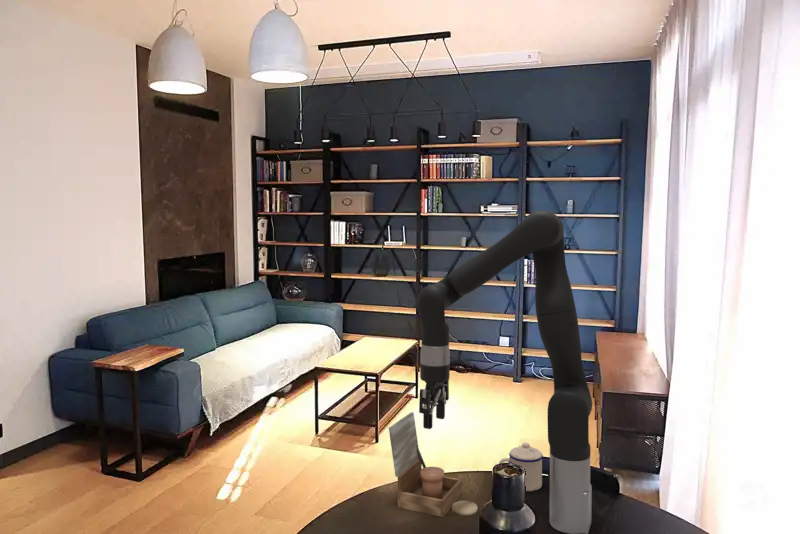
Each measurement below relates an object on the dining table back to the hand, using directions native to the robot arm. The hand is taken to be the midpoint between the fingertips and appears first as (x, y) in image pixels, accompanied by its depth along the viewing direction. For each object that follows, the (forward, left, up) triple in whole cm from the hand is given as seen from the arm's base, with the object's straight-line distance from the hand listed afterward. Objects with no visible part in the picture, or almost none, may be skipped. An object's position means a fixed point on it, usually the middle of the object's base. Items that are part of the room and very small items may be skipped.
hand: (434, 423), depth 150 cm
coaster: (-9, +1, -21) cm, 22 cm away
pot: (+1, 0, -20) cm, 20 cm away
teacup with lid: (-18, -19, -21) cm, 33 cm away
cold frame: (+2, 0, -21) cm, 21 cm away
